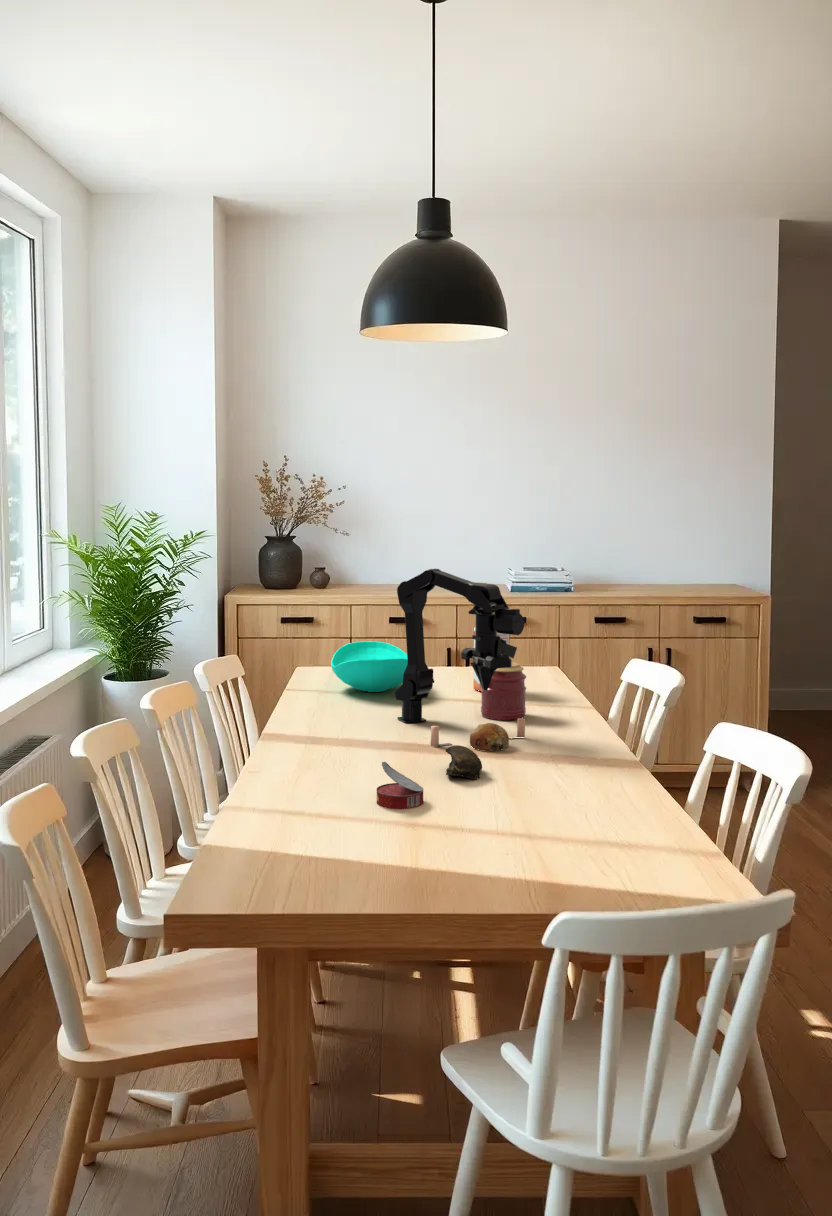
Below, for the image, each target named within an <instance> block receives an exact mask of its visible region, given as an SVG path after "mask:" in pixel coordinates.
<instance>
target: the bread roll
mask: <svg viewBox="0 0 832 1216" xmlns="http://www.w3.org/2000/svg"><path fill="white" fill-rule="evenodd" d="M509 743H510V739H509V734H508V732H507V730H506V729H505V728H504V727H503V726H501V725H498V724H497V723H493V722H486V723H482V724H481V723H480V724H478V725H477V727H475V729H473V731H472V732H471V733H470V735H469V744H470V747H471V746H472V747H473V748H475V749H474V750H476V749H479V750H478V751H480V750H485V751H484V752H497V751H496V750H500V751H502V750H501V749H504V750H505V749H507V748H508V746H509V745H510V744H509ZM472 747H471V748H472ZM473 748H472V749H473Z"/></svg>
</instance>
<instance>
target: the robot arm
mask: <svg viewBox="0 0 832 1216" xmlns="http://www.w3.org/2000/svg"><path fill="white" fill-rule="evenodd" d="M435 587H438V588H441V589H444V590H447V591H449V592H453V593H455V594H457V595H460V596H462V597H464V598H465V599H466V600H467V601H468V602H469V603H471V604H472V605H474V606H473V607H472V608H471V609H470V610H469V611H468V614H469V615H474V616H475V622H474V623H475V626H474V627H475V635H474V634H472V640H474V639H475V648H474V647H468V648H465V647H464V648H463V649H462V651H460V652H461V655H460V656H461V657H460V659H462V660H464V661H467V660H468V659H472V660H473V661H472V662H470V665H471V667H472V669H473V672H474V671H475V673H476V675H477V677H478V679H479V682H480V684H481V686H482V688H483V690H488V688H489V685H490V682H491V679H492V676H493V673H494V671H495V670H496V669H497V668H510V667H511V665H512V662H513V661H512V659H514V658H515V655H516V653H517V650H518V647H517V646H513V645H511V644H510V645H509V644H506V640H503V639H501V638H500V636H497V632H498V633H501V634H510V636H519V635H521V634H522V633H523V630H524V628H525V620H524V617H523V615H522V614H521V609H520V608H509V606H508V604H507V602H506V601H505V599H504V597H503V595H502V593H501V590H500V588H499V586H498V585H496V584H493V583H487V582H474V581H470V580H468V579H465V578H462V577H459V576H456V575H454V574H451V573H448V572H446V571H442V570H441V569H439V568H429V569H426V570H424V571H423V572H421V573H420V574H418V575H416V576H414V577H412V578H410V579H408V580H405V581H402V582H400V584H399V585H398V586H397V589H396V593H397V599H398V604H399V605H400V607H401V609H402V611H403V612H404V622H405V623H404V624H405V641H406V642H405V643H406V654H407V660H408V664H407V667H406V669H405V671H404V674H403V683H402V684H401V685H400V686H399V688H398V689H397V690H396V691H395V692H394V695H395V699H396V701H400V702H401V716H397V720H398V721H401V722H402V721H403V723H404V724H411V723H423V722H424V723H425V722H427V719H426V718H424V717H423V699H427V698H429V694H430V691H431V690H433V686H434V685H433V684H434V683H435V678H434V669H433V668H429V667H428V665H427V663H426V654H425V651H426V650H425V635H424V622H423V621H424V619H423V618H424V617H423V611H424V609H425V606H426V604H427V602H428V601H427V600H428V593H429V592H431V591H432V590H434V589H435ZM501 654H502V655H501Z"/></svg>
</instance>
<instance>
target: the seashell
mask: <svg viewBox="0 0 832 1216" xmlns="http://www.w3.org/2000/svg"><path fill="white" fill-rule="evenodd" d="M445 753H447V754H448V755H450V758H451V761H450V762H449V764H448V768H447V769H446V771H445V775H446V776H454V777H463V778H467V779H470V780H472V779H474V780H480V779H481V777H480V775H481V771H482V769H483V764H482V761H481V759H480V758H479V756H478V755H477V753H475V752H474V751H473V750H471V749H470V748H469V747H466V746H463V745H458V744H455V745H450V746H448V747H446V748H445ZM477 778H478V779H477Z"/></svg>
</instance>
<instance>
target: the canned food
mask: <svg viewBox="0 0 832 1216" xmlns="http://www.w3.org/2000/svg"><path fill="white" fill-rule="evenodd" d="M381 766H382V769H383V772H384V773H385V774H386V776H388V778H390V779H391V780H392V781H393V783H392V782H391V783H385V784H382V785H379V786H378V787H376V805H377V806H379V807H381V808H385V809H389V810H408V809H415V808H418V807H421V806H422V805H424V788H423V786H421V785H420V784H419V783H418V782H416V781H414V780H413V779H411V778H410V777H408V776H405V775H404V774H402V773H400V772H399V771H397V770H396V769H395V768H393V767H392V766H390V764H388V762H386V761H383V762H382V761H381Z"/></svg>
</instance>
